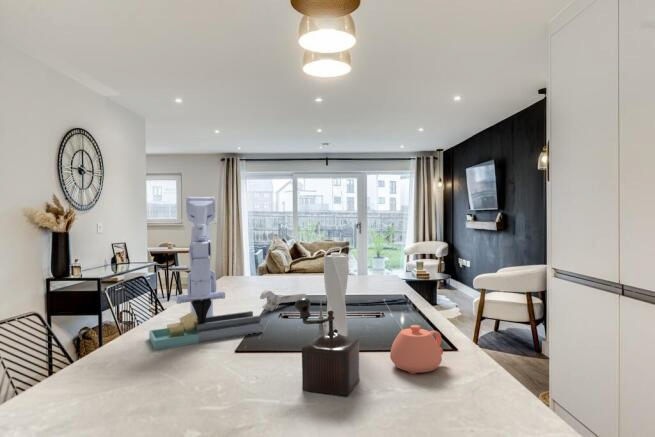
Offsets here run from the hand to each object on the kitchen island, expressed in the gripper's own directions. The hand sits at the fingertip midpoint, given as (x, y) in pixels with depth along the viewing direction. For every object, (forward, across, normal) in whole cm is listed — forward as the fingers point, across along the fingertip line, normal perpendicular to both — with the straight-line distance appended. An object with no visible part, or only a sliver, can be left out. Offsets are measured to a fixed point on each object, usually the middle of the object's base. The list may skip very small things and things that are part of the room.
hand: (201, 324), depth 129 cm
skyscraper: (+4, +33, -26) cm, 42 cm away
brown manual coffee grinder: (+4, +14, -50) cm, 52 cm away
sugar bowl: (+4, +40, -54) cm, 67 cm away
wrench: (+4, +39, +25) cm, 47 cm away
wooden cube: (+1, -3, 0) cm, 3 cm away
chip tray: (+4, -8, 0) cm, 9 cm away
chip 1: (+1, -6, 0) cm, 6 cm away
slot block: (+4, +8, 0) cm, 9 cm away
